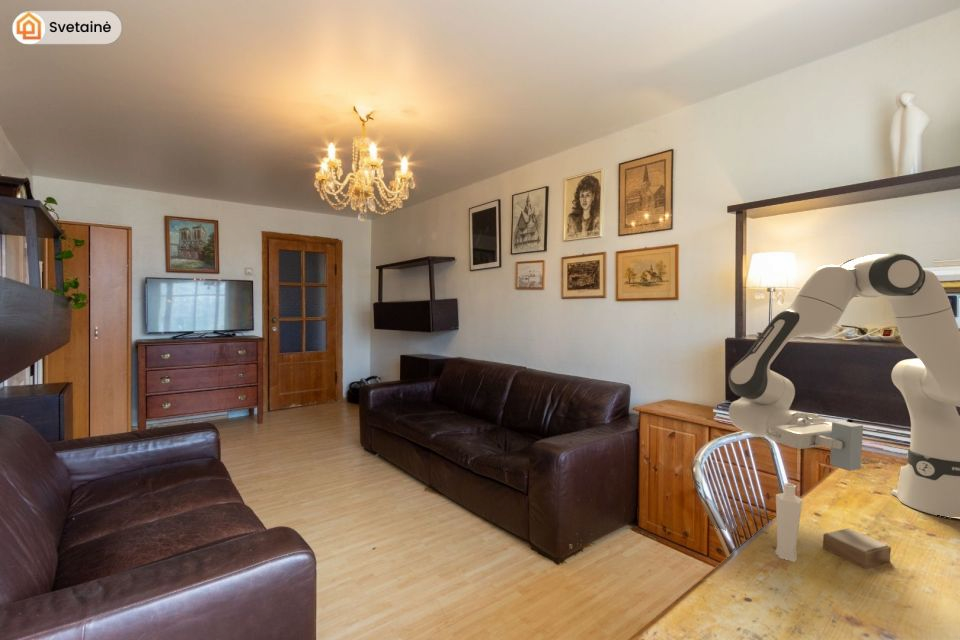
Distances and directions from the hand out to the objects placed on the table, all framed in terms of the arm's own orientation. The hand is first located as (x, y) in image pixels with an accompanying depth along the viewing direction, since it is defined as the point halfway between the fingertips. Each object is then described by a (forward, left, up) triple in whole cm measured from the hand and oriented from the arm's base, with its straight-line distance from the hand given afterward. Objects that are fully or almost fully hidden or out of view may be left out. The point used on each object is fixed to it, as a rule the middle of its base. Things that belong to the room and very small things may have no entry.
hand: (850, 444), depth 102 cm
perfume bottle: (+22, +2, -21) cm, 31 cm away
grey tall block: (0, -1, -6) cm, 6 cm away
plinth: (+7, +6, -21) cm, 23 cm away
